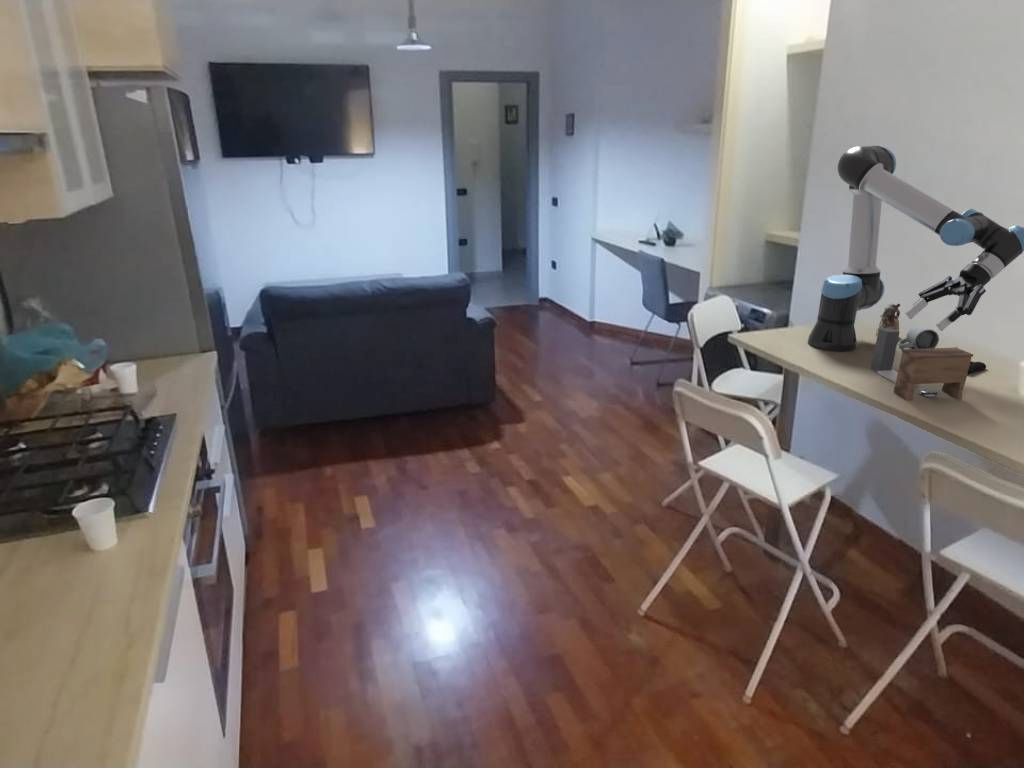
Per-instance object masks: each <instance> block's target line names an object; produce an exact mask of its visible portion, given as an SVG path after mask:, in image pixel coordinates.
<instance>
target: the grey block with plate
mask: <svg viewBox="0 0 1024 768" xmlns="http://www.w3.org/2000/svg"><path fill="white" fill-rule="evenodd" d="M899 337H900V330H899V331H897V330H895V329H892V328H879V330H878V335H877V336H876V342H875V345H874V350H873V351H874V352H873V355H872V362H871V365H870V370H872V369H873V370H872V371H874V370H875V371H874V372H876V371H877V372H876V373H877V374H878V373H879V374H878V375H880V374H881V375H880V376H882V377H883V376H884V377H883V378H885V377H886V379H887V378H888V379H887V380H889V379H890V380H889V381H892V382H893V383H894V384H896V379H897V374H898V371H896V370H894V369H893V366H894V365H893V364H894V360H895V355H896V350H897V346H898V342H899ZM920 386H921V384H915V388H916V387H920Z"/></svg>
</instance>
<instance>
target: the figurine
mask: <svg viewBox="0 0 1024 768" xmlns="http://www.w3.org/2000/svg"><path fill="white" fill-rule="evenodd" d="M899 307H901V303H899V302H898V303H896V304H894V303H889V304H887V305H886V306H884V310H883V313H882V314H881V315H880V318H881V319H880V321H879V324H878V327H877V328H876V332H875V336H876V337H877V335H878V330H879V328H892V329H895V330H897V331H899V332H900V321H899V318H900V313H901V311H900V309H899Z"/></svg>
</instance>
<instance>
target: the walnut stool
mask: <svg viewBox="0 0 1024 768" xmlns="http://www.w3.org/2000/svg"><path fill="white" fill-rule="evenodd" d="M900 351H901V357H900V361H899V365H898V366H899V367H898V371H897V372H898V374H897V379H896V383H894V389H893V393H894V394H896V395H898V396H899V397H901V398H904V399H905V400H907V401H913V396H914V392H915V389H916V387H915V384H920V385H924V384H927V385H930V384H931V385H932V384H942V387H941V391H943V392H944V393H946V394H949V395H951V396H953V397H955V398H956V399H957V398H958V399H959V398H962V396H963V391H964V388H965V384H966V380H967V376H968V374H967V373H968V369H969V365H970V361H972V358H973V357H974V354H973V353H971V352H968V351H965V350H963V349H961V348H958V347H935V348H927V349H916V348H904V349H903V348H901V350H900Z"/></svg>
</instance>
